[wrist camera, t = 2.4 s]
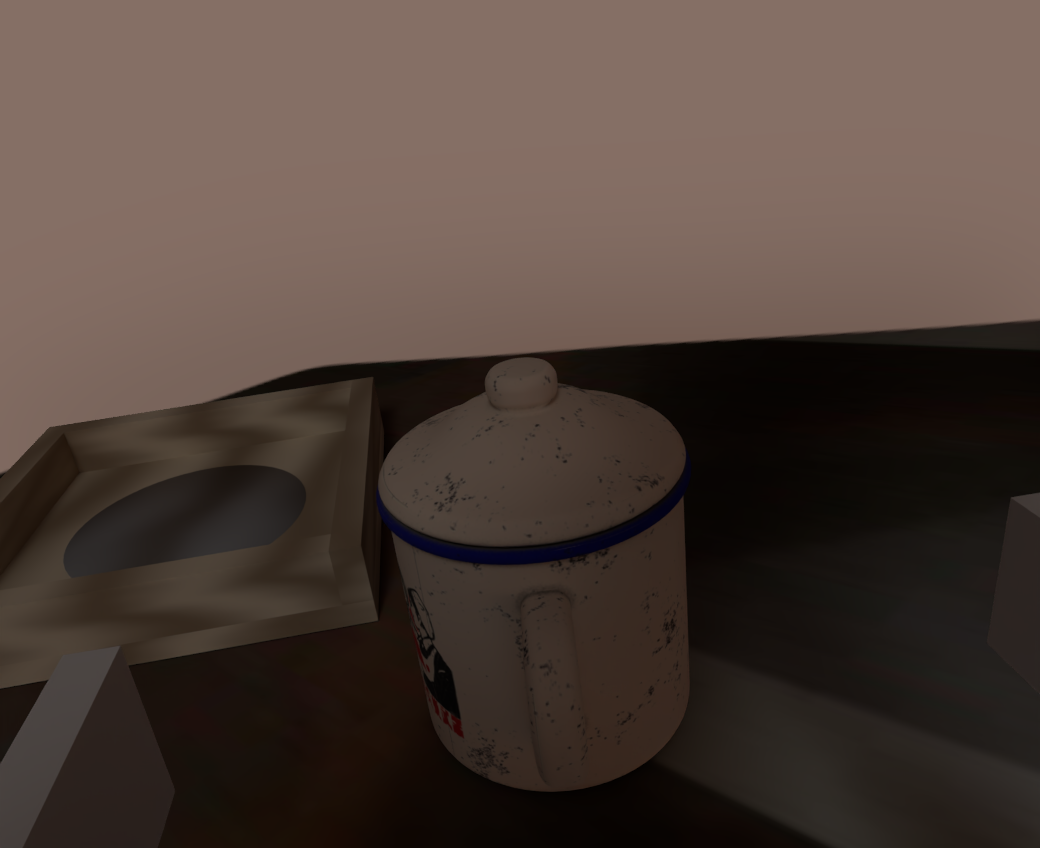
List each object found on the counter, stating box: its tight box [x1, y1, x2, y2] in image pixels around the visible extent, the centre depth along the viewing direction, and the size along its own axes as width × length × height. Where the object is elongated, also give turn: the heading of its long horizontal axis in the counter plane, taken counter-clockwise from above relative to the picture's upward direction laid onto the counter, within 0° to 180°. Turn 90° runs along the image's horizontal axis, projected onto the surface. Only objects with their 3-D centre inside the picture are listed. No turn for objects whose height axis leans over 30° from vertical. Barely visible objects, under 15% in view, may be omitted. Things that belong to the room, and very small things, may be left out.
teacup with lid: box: [376, 358, 691, 792], centre depth 24 cm, size 12×9×12 cm
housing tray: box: [0, 377, 384, 689], centre depth 38 cm, size 18×18×4 cm
